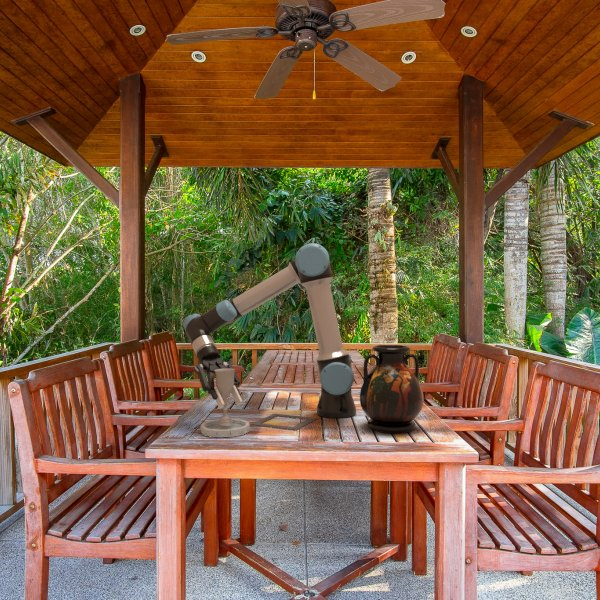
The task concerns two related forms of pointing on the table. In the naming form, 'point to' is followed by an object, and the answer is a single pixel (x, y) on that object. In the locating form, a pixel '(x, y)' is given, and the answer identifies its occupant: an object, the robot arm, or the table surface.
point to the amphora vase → (391, 390)
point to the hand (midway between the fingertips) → (230, 404)
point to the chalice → (225, 390)
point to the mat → (307, 421)
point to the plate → (224, 428)
